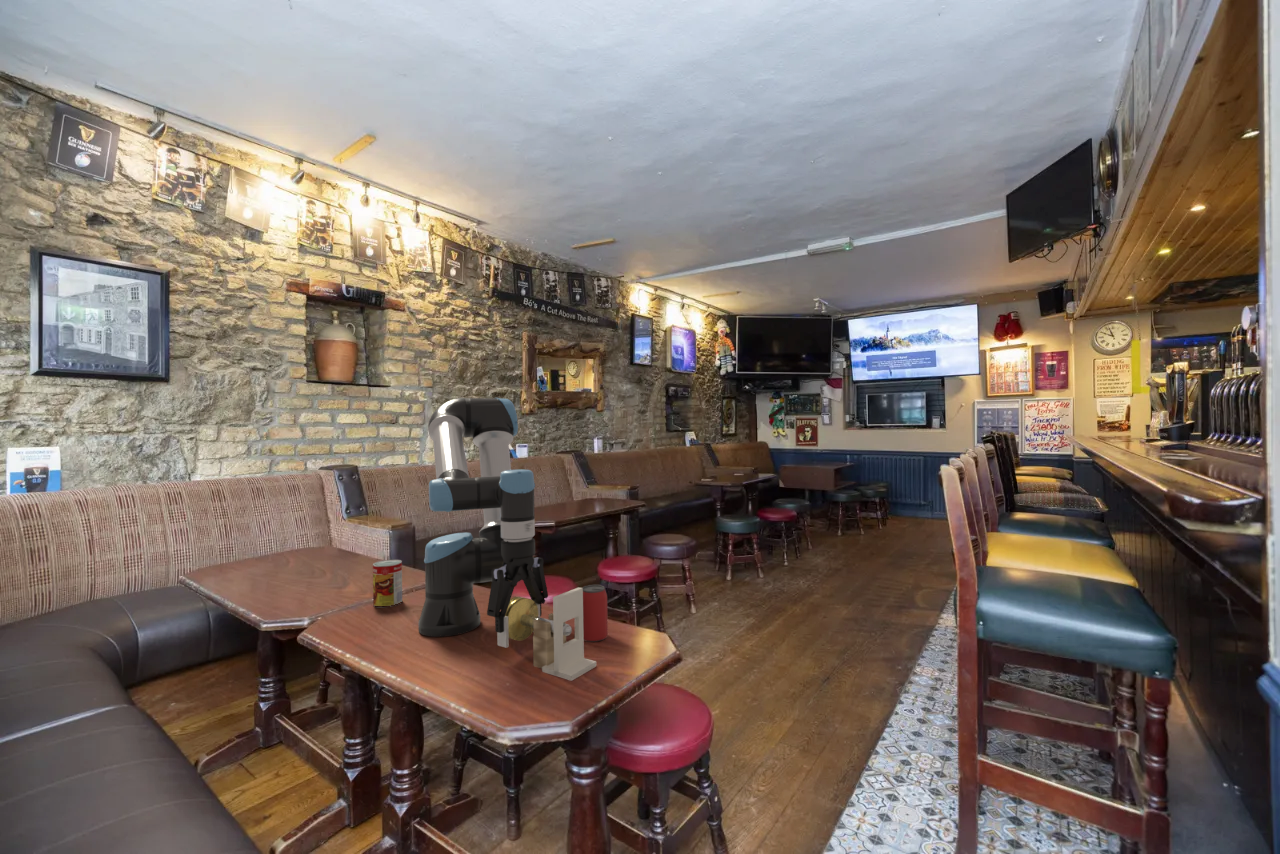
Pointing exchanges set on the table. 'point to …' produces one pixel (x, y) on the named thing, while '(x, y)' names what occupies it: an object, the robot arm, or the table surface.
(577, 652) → the beige slotted stand
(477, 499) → the robot arm
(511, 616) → the gold disc on rod
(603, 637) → the beer can
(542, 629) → the cradle
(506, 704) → the table surface
